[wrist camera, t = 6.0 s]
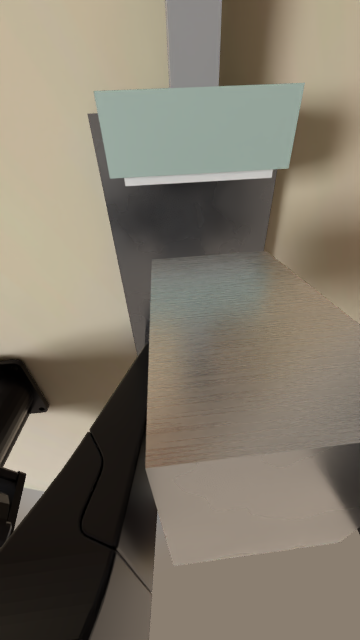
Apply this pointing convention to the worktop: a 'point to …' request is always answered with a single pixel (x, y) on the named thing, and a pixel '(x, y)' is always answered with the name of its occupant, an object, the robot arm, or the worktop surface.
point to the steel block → (250, 409)
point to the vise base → (177, 225)
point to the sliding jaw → (197, 114)
